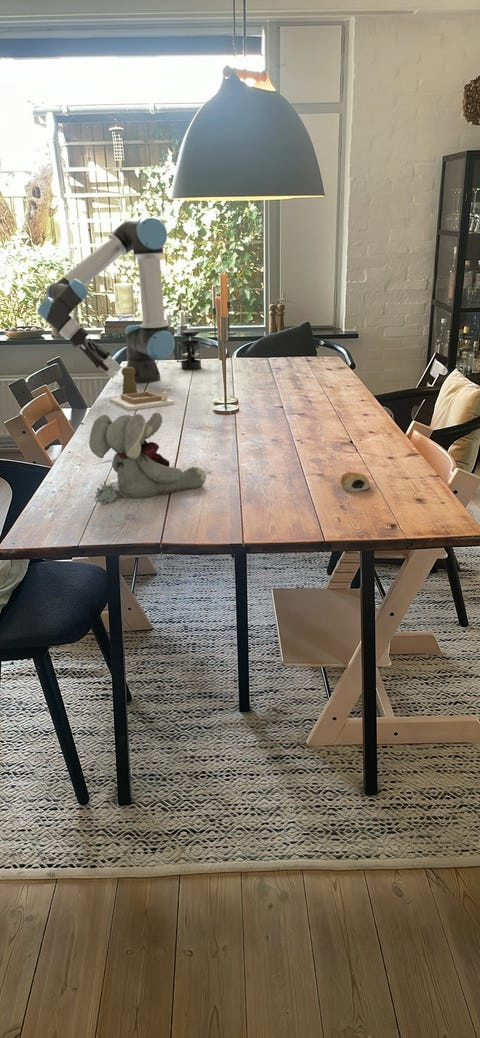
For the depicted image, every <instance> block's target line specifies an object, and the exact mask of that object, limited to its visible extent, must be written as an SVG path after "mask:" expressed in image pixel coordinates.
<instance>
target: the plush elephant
mask: <svg viewBox="0 0 480 1038" xmlns="http://www.w3.org/2000/svg"><path fill="white" fill-rule="evenodd" d="M162 422H163V417H162V415H161V413H160V412H154V413H153V414H152V415H151V417H150V418H149V420H147V421H146V419H145V417H144V416H143V414H140V413H136V414H134V415H130V414H124V415H120V416H118V417H117V418H115V420H114V421H113V420H112V419H111V418H110V417H109V415H107V414H103V415H99V417H97V418H96V419H95V420H94V422H93V424H92V427H91V430H90V433H89V448H90V450H91V452H92V454H93V455H95V456H96V457H98V458H99V459H103V458H105V457H104V456H106V454H107V453H108V452H109V451H110V450H111V449H112V451H114V452H115V455H114V456H113V458H112V462H111V463H112V464H111V466H112V469H113V470H114V472H116V473H117V475H116V476H117V484H118V490H117V489H115V488H116V485H115V483H112V482H111V483H110V485H107V483H106V481H105V480H103V484H104V485H103V484H101V483H100V488H101V489H100V488H99V487H97V489H96V492H95V494H96V495H95V496H94V499H97V503H99V504H101V506H103V505H108V504H109V503H112V502H114V501H116V500H117V499H118V498H125V499H126V498H130V499H145V498H146V499H147V498H150V497H153V496H156V495H159V494H160V495H161V494H162V495H163V494H164V495H165V494H170V493H175V492H179V491H180V492H181V491H184V490H193V489H194V490H195V489H199V488H201V487H203V485H204V484H205V482H206V481H207V474H206V472H205V470H204V469H203V468H201V467H198V466H191V467H189V468H187V469H186V470H183V471H182V469H180V468H179V467H173V466H170V461H169V460H168V459H166V458H165V457H163V456H162V455H161V453H157V452H158V450H159V449H160V446H159V444H157V443H156V442H153V441H150V442H148V441H147V440H148V439H150V438H151V437H152V436H154V435H155V433H156V432H158V431H159V429H160V427H161V426H162ZM113 485H114V486H113Z"/></svg>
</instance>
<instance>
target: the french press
mask: <svg viewBox="0 0 480 1038" xmlns="http://www.w3.org/2000/svg"><path fill="white" fill-rule="evenodd" d="M184 319H187V320H188V327H189V329H183V330H180V331H179V333H180V336H181V337H182V338H189V340H183V341H179V342H178V341H177V342H175V347H176V362H177V363H180V364H181V367H180V369H181V370H183V371H184V370H185V371H198V370H201V369H202V357H201V356H202V355H201V354H202V353H201V341H199V340H191V339H192V338H194V337H196V336H197V335H199V333H200V330H198V329H191V319H195V317H193V316H186V317H184ZM178 344H180V360H179V346H178ZM183 347H186V353H183ZM195 347H199V350H198V351H199V352H198V353H197V352H195ZM196 357H199V359H196ZM183 358H187V359H183Z"/></svg>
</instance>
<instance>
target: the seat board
mask: <svg viewBox="0 0 480 1038" xmlns="http://www.w3.org/2000/svg"><path fill="white" fill-rule="evenodd" d="M108 399H109V403H111V404H114V405H116V406H118V407H121V408H123V409H125V410H127V411H133V410H141V409H148V408H154V407H155V408H156V407H163V406H169V405H175V400H173V399H170V398H168V391H162V393H161V395H160V394H157V393H154V392H152V391H149V390H147V391H146V390H145V391H140V392H138V391H137V393H130V394H123V393H122V394H120V396H119V397H112V398H108Z"/></svg>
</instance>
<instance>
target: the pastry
mask: <svg viewBox="0 0 480 1038" xmlns="http://www.w3.org/2000/svg"><path fill="white" fill-rule="evenodd" d="M340 484H341V486H342V487H343V490H344V491H345V492H352V493H353V492H359V491H360V492H362V491H366V490H368V489H369V488H370V486H371V484H370V481H369V479H368V478H367V476H365V474H363V473H359V472H348V471H347V472H346V473H344V474H342V475H341V478H340Z"/></svg>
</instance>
